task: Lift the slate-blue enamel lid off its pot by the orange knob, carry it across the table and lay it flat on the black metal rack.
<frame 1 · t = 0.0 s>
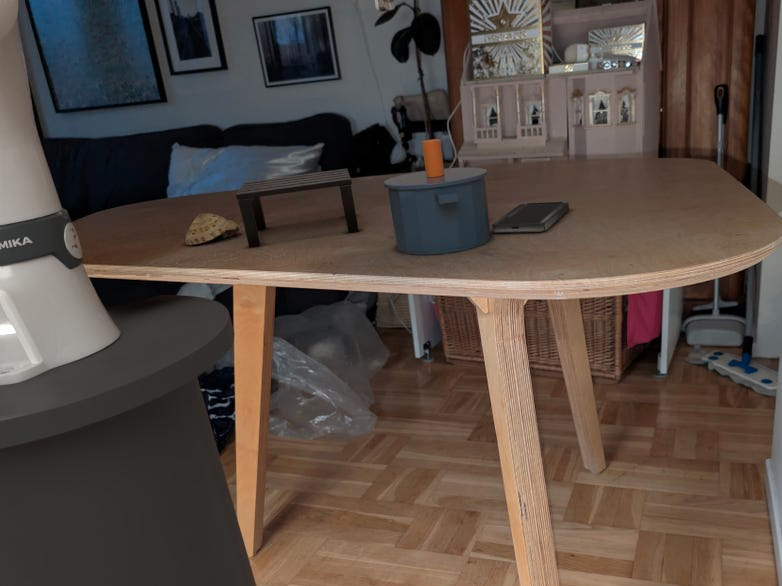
hand: (415, 5, 79), 29 cm above the table, tool pointing down, fingers open, 8 cm apart
lid: (435, 179, 92), point 8 cm above the table, touching pot
rack: (305, 230, 114), on the table
pot: (443, 242, 95), on the table
seashell: (214, 240, 116), on the table
phone: (532, 221, 102), on the table
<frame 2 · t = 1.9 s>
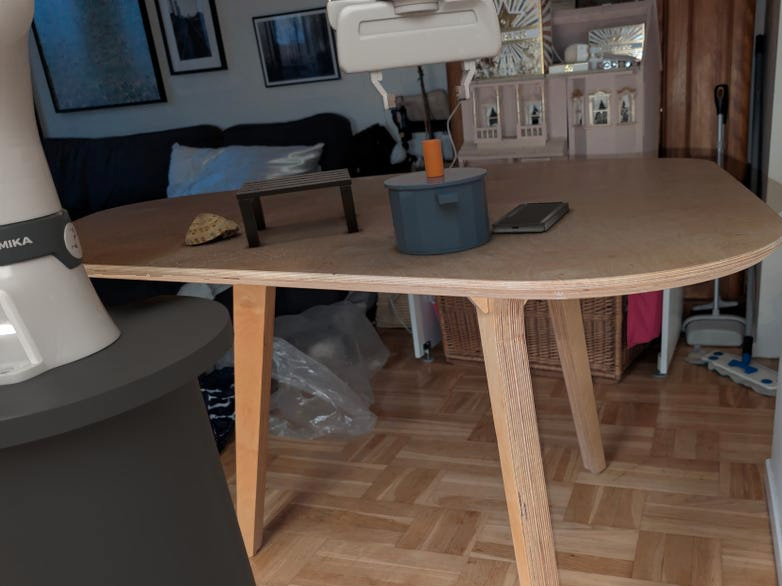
hand: (427, 105, 89), 18 cm above the table, tool pointing down, fingers open, 8 cm apart
nothing on the table moved.
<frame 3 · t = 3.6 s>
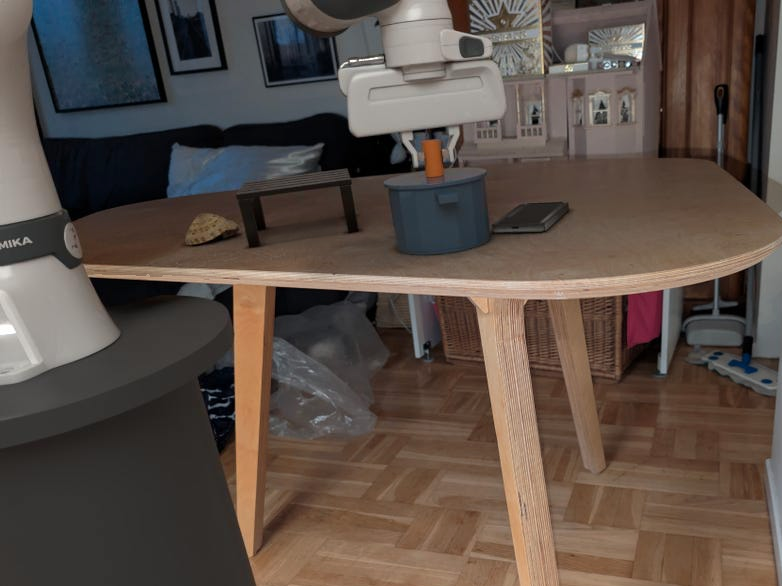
hand: (433, 165, 91), 10 cm above the table, tool pointing down, fingers closed on lid, 2 cm apart
lid: (435, 179, 92), point 8 cm above the table, touching gripper, pot
everything else where it was.
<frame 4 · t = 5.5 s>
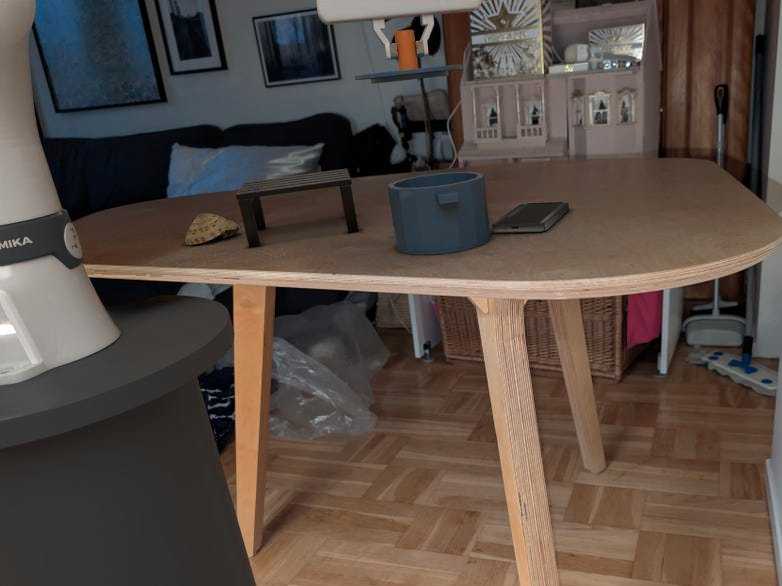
hand: (407, 58, 88), 23 cm above the table, tool pointing down, fingers closed on lid, 2 cm apart
lid: (409, 74, 88), point 21 cm above the table, touching gripper
everything else where it was.
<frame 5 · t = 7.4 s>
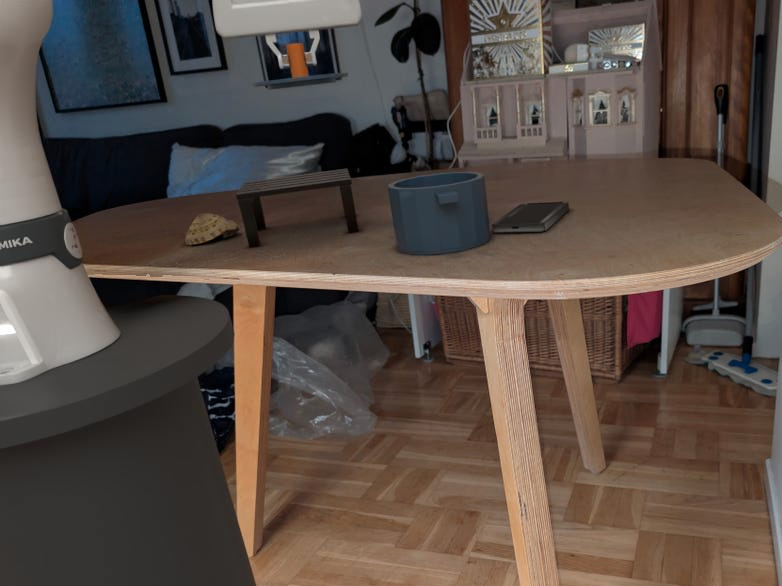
hand: (299, 67, 101), 24 cm above the table, tool pointing down, fingers closed on lid, 2 cm apart
lid: (301, 81, 102), point 22 cm above the table, touching gripper
everything else where it was.
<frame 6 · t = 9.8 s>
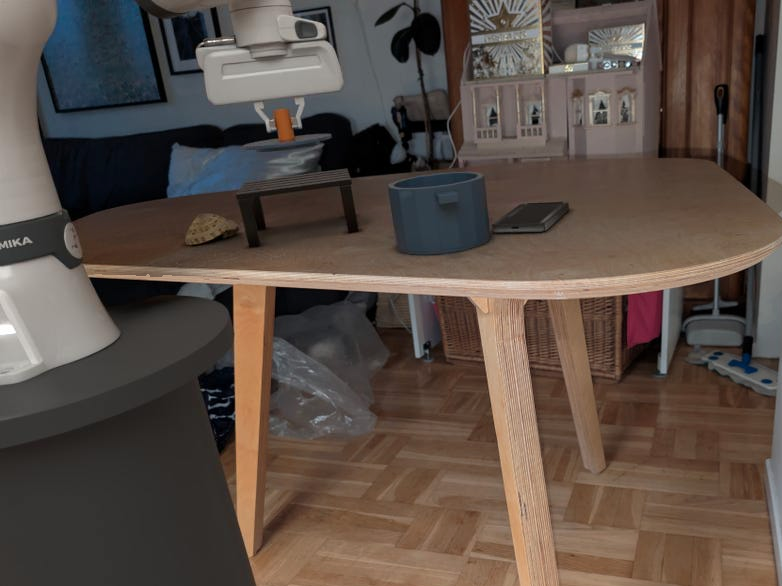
hand: (285, 130, 108), 16 cm above the table, tool pointing down, fingers closed on lid, 2 cm apart
lid: (287, 143, 109), point 14 cm above the table, touching gripper
everything else where it was.
when the fingers open (10 cm above the table, at t = 11.2 s): lid stays where it is, resting on rack.
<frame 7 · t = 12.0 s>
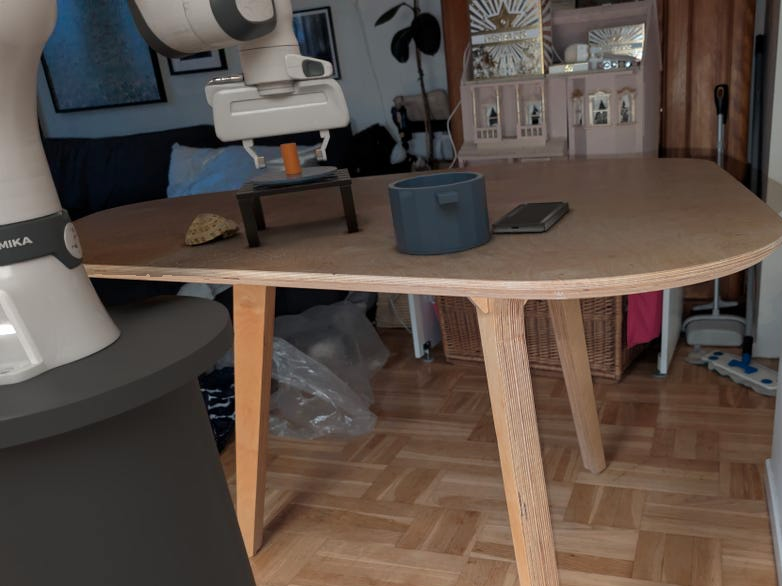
hand: (292, 164, 110), 10 cm above the table, tool pointing down, fingers open, 8 cm apart
lid: (294, 176, 111), point 9 cm above the table, touching rack
everything else where it was.
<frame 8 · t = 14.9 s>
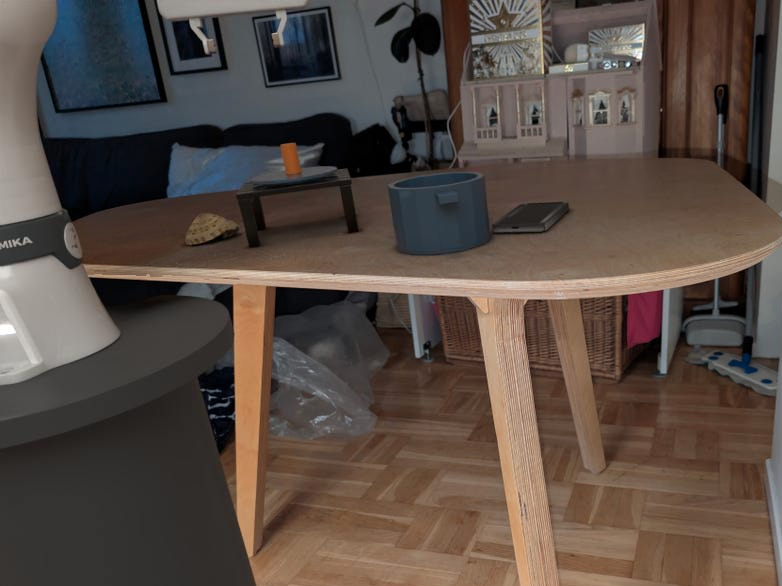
hand: (245, 50, 100), 27 cm above the table, tool pointing down, fingers open, 8 cm apart
nothing on the table moved.
at the end: lid 0.1 cm off-centre on the rack, point 8.6 cm above the rack's base; lid tilted 0°; the gripper is holding nothing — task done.
